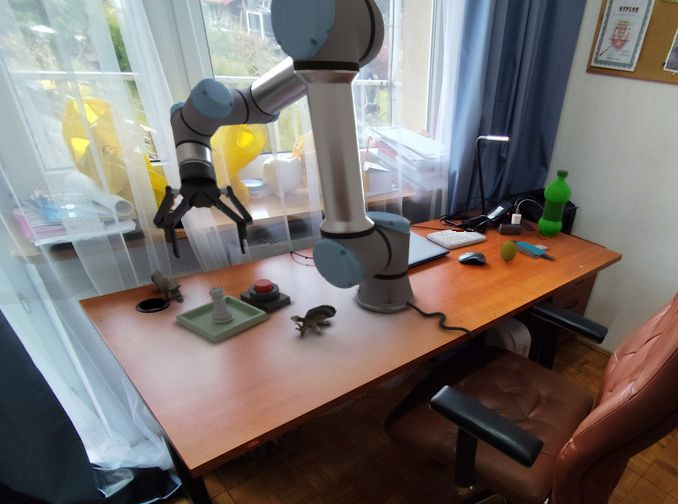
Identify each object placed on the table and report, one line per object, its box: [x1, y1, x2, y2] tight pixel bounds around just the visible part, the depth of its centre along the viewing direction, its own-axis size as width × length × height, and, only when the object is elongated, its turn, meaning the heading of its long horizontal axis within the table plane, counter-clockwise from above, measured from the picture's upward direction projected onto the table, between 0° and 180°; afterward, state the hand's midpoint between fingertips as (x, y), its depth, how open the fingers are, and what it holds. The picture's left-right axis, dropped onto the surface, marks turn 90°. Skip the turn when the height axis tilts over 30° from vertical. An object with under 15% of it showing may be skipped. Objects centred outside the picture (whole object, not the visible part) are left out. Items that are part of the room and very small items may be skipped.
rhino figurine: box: [150, 269, 184, 304], centre depth 101 cm, size 4×14×6 cm, turn 49°
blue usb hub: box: [512, 239, 554, 261], centre depth 157 cm, size 20×12×2 cm, turn 38°
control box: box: [239, 282, 292, 314], centre depth 105 cm, size 10×7×4 cm
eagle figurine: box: [290, 304, 338, 338], centre depth 96 cm, size 8×7×9 cm
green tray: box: [175, 294, 268, 344], centre depth 97 cm, size 13×13×2 cm
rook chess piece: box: [208, 285, 233, 324], centre depth 95 cm, size 4×4×8 cm
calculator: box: [426, 229, 487, 250], centre depth 158 cm, size 13×20×2 cm, turn 133°
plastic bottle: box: [537, 169, 572, 237], centre depth 168 cm, size 10×10×25 cm
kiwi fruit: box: [499, 240, 518, 264], centre depth 142 cm, size 6×6×8 cm
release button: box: [253, 278, 273, 293], centre depth 103 cm, size 4×4×2 cm
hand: (210, 253), depth 96 cm, fingers open, 13 cm apart
